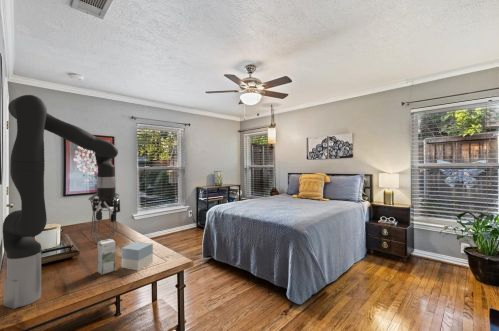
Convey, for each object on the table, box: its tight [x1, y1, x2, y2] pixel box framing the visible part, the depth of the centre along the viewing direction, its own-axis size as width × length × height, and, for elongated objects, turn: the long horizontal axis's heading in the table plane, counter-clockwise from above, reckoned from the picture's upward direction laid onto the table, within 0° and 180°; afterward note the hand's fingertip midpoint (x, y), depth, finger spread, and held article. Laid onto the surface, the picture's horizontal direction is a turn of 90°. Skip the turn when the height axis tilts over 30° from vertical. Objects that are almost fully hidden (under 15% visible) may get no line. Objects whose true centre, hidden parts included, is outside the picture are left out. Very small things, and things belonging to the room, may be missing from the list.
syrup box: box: [96, 238, 116, 276], centre depth 112 cm, size 6×6×14 cm
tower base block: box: [121, 252, 154, 271], centre depth 120 cm, size 10×10×5 cm
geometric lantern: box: [88, 192, 120, 245], centre depth 154 cm, size 16×16×35 cm
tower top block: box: [121, 241, 154, 261], centre depth 120 cm, size 10×10×5 cm
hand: (106, 220), depth 112 cm, fingers open, 8 cm apart
